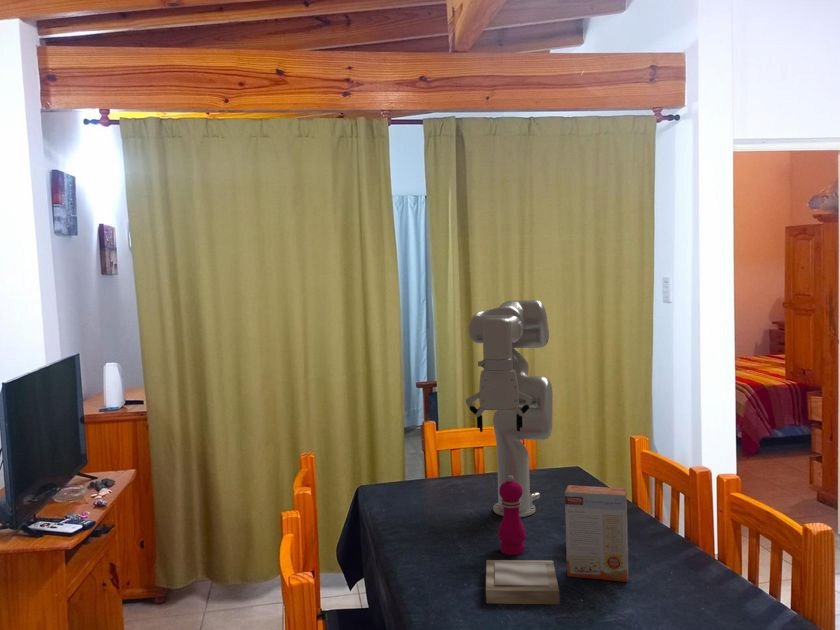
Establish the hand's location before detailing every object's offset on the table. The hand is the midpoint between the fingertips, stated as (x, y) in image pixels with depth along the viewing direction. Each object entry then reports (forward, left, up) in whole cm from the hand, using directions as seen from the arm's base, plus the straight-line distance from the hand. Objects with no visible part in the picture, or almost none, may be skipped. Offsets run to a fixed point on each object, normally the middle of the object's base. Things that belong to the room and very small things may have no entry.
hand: (499, 430), depth 186 cm
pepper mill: (-1, +3, -32) cm, 32 cm away
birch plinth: (+13, +19, -32) cm, 39 cm away
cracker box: (-5, +27, -32) cm, 42 cm away
